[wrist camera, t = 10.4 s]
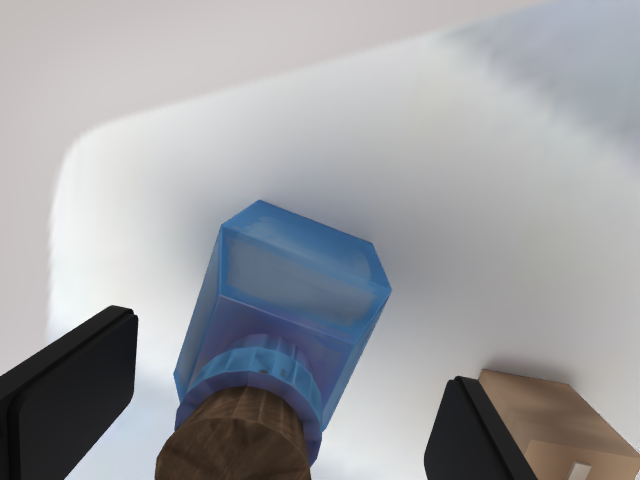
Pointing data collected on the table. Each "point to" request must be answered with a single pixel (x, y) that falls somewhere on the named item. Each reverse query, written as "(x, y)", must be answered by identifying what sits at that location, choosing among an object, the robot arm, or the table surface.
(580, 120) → the table surface
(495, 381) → the letter cube
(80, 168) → the table surface
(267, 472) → the perfume bottle
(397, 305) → the table surface
